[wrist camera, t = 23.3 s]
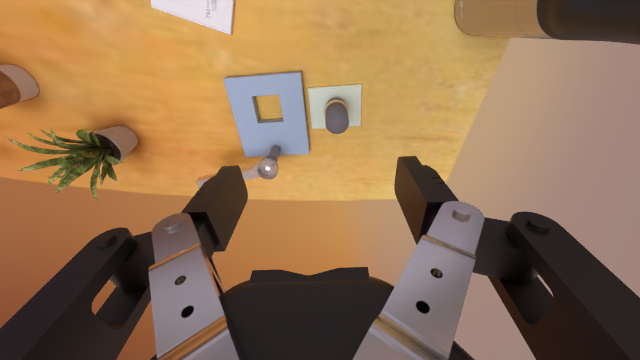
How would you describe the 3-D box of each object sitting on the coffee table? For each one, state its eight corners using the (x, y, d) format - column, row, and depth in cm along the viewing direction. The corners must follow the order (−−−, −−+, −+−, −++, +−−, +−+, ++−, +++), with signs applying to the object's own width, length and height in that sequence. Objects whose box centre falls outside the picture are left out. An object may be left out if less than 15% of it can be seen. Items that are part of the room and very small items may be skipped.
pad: (361, 83, 43) (361, 84, 43) (360, 124, 47) (360, 125, 47) (308, 87, 44) (308, 88, 43) (312, 127, 48) (312, 128, 48)
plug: (347, 94, 44) (350, 107, 37) (347, 118, 46) (351, 134, 40) (323, 97, 44) (322, 110, 37) (325, 120, 46) (324, 136, 40)
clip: (197, 173, 44) (193, 177, 42) (274, 156, 41) (273, 160, 40) (206, 188, 46) (203, 192, 44) (281, 172, 43) (279, 177, 42)
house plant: (77, 87, 44) (-32, 113, 31) (153, 109, 46) (82, 143, 33) (93, 150, 52) (11, 193, 38) (158, 166, 54) (102, 213, 41)
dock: (301, 70, 42) (296, 80, 35) (309, 149, 51) (307, 169, 44) (227, 76, 43) (207, 86, 36) (248, 153, 52) (235, 173, 44)
